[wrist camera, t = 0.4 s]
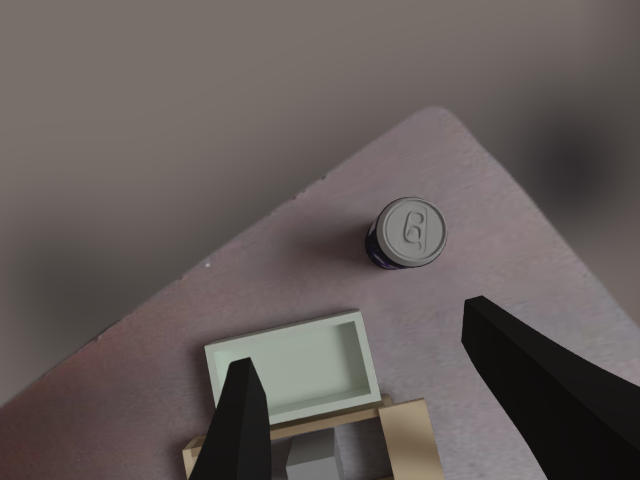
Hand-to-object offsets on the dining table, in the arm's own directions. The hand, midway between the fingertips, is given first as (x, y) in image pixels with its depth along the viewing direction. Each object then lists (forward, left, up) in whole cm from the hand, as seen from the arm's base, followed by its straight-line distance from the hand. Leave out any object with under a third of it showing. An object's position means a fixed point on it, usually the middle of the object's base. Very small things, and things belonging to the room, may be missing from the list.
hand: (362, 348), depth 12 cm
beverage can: (+5, -6, -27) cm, 29 cm away
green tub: (-6, +7, -27) cm, 29 cm away
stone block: (-15, +6, -27) cm, 32 cm away
